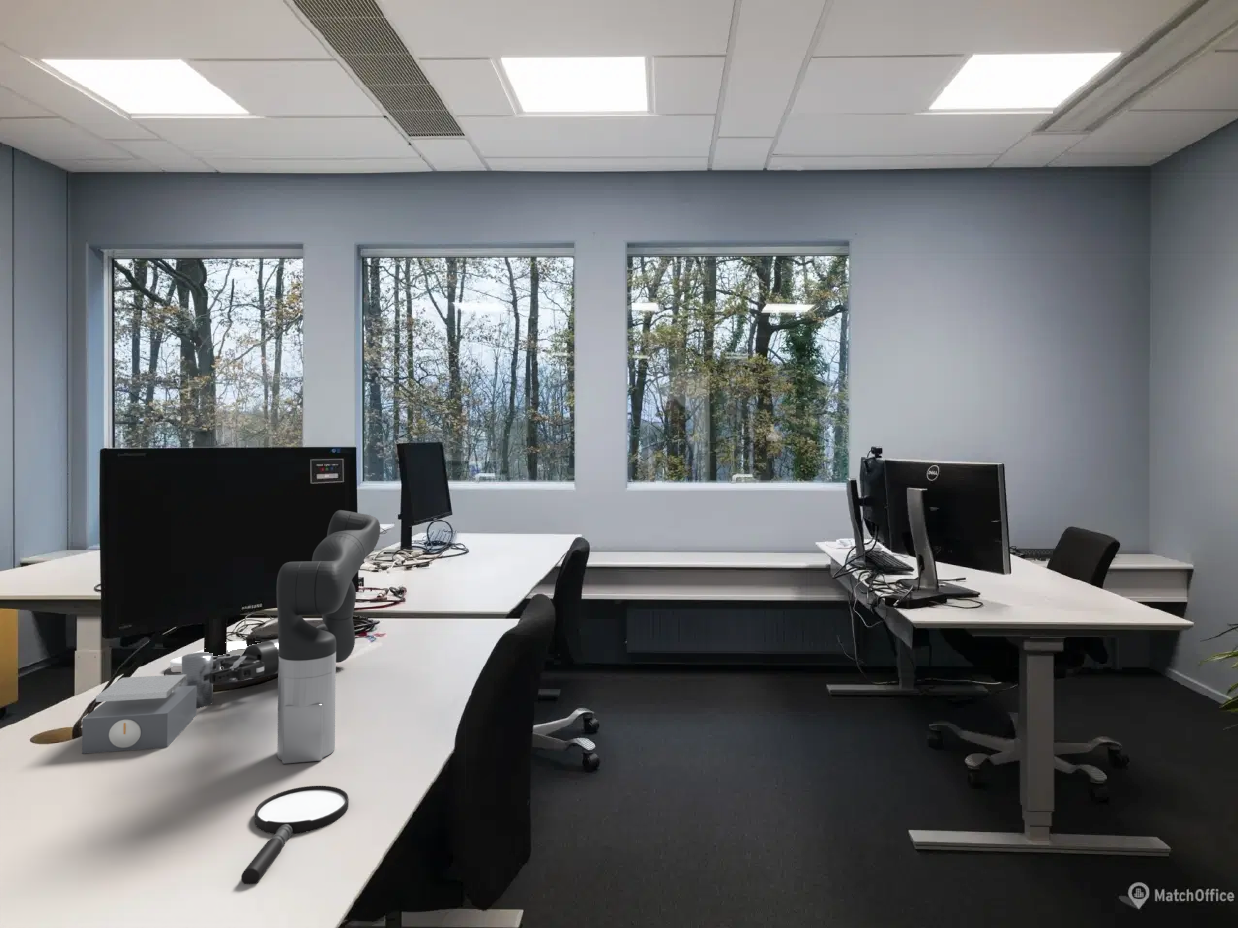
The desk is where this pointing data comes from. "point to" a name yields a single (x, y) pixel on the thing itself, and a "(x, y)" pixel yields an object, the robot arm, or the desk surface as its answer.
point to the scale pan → (142, 688)
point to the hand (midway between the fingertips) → (198, 674)
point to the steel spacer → (199, 676)
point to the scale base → (138, 722)
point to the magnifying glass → (293, 820)
